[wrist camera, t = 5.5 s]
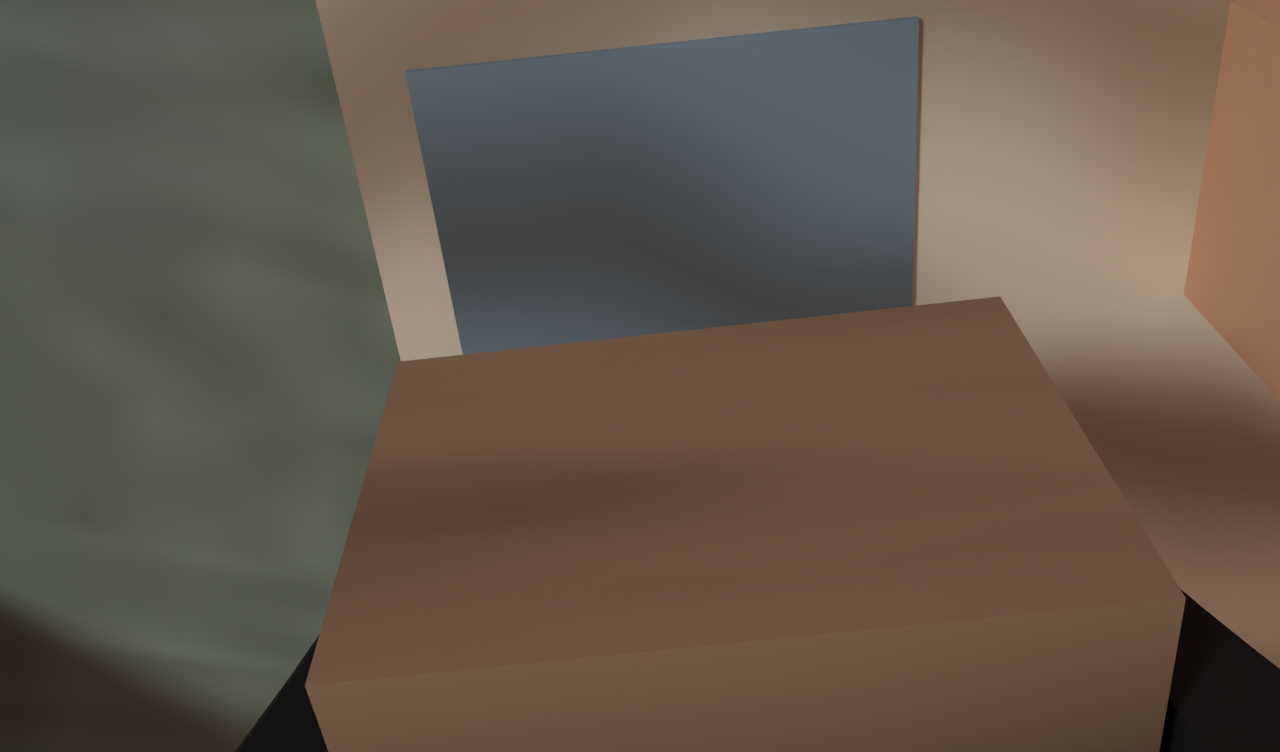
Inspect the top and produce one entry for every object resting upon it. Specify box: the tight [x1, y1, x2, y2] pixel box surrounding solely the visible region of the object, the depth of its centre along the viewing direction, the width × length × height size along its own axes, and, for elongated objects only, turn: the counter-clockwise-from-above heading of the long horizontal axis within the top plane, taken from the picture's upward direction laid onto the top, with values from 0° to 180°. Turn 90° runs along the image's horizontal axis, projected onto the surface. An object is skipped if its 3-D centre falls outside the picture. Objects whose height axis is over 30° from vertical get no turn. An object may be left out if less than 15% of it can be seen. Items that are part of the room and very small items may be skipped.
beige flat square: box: [316, 0, 1280, 668], centre depth 20 cm, size 20×18×1 cm
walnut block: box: [305, 297, 1186, 752], centre depth 11 cm, size 6×6×4 cm
